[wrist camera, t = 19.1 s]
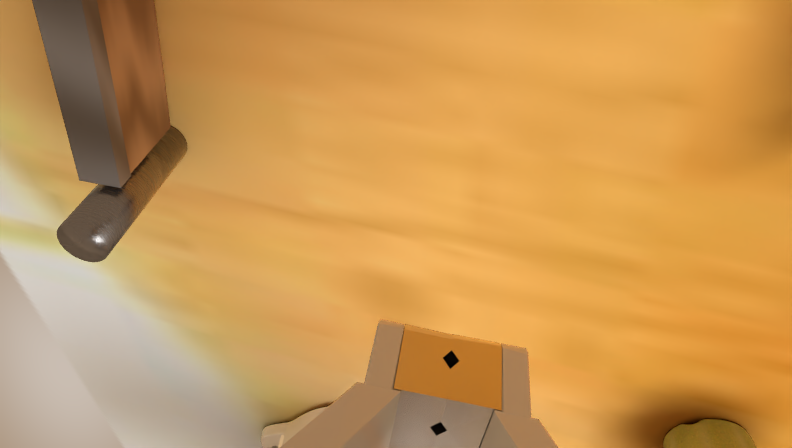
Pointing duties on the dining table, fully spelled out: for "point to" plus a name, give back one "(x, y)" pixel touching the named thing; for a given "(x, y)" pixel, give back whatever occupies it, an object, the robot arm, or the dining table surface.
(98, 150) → the gate
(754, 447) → the plant pot
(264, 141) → the dining table surface
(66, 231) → the hinge post
